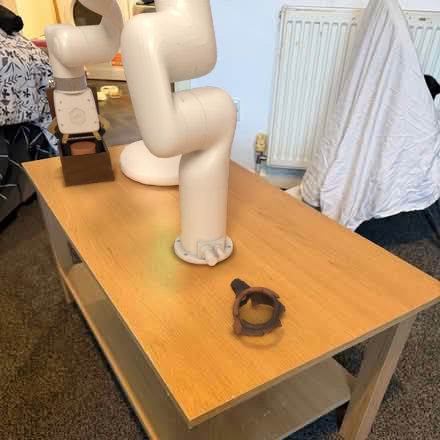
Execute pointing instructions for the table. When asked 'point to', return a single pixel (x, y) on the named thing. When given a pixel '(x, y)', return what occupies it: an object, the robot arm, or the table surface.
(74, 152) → the orange short cylinder
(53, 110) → the lid
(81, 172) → the chest
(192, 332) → the table surface
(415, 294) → the table surface
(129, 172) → the plate
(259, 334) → the pottery mug
